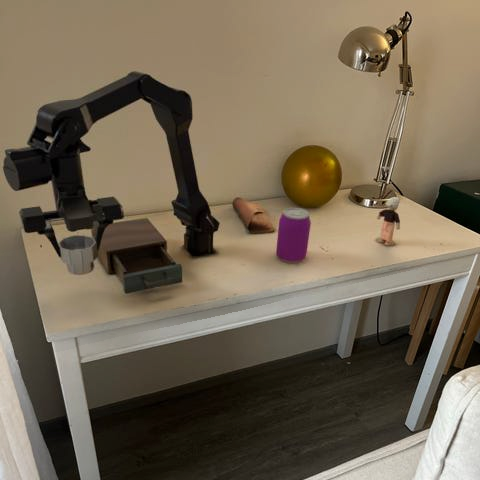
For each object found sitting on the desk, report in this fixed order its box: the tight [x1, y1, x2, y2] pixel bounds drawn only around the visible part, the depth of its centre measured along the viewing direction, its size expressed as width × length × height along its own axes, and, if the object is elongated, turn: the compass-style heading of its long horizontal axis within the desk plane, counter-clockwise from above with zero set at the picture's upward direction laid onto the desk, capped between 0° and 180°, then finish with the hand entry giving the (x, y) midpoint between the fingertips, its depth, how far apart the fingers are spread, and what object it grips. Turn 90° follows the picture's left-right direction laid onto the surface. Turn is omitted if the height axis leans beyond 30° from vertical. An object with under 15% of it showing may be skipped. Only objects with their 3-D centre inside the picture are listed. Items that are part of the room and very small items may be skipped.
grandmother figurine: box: [376, 196, 401, 246], centre depth 135 cm, size 8×4×13 cm, turn 47°
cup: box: [57, 234, 99, 276], centre depth 103 cm, size 7×8×6 cm
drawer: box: [110, 245, 183, 295], centre depth 114 cm, size 17×13×4 cm
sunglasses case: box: [231, 196, 275, 234], centre depth 145 cm, size 18×7×7 cm
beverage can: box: [275, 207, 312, 264], centre depth 125 cm, size 8×8×12 cm
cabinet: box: [90, 217, 168, 275], centre depth 123 cm, size 14×14×6 cm
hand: (78, 253), depth 103 cm, fingers closed on cup, 7 cm apart
